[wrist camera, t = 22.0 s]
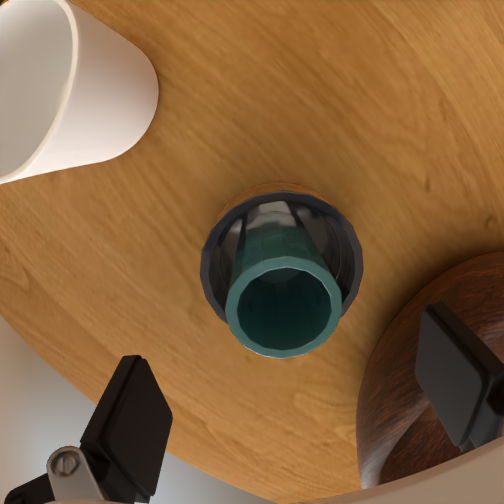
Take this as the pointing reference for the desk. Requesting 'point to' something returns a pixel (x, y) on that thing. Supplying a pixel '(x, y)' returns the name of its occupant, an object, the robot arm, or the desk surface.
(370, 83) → the desk surface
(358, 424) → the wooden bowl
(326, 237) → the bowl
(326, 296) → the cup
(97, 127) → the mug
